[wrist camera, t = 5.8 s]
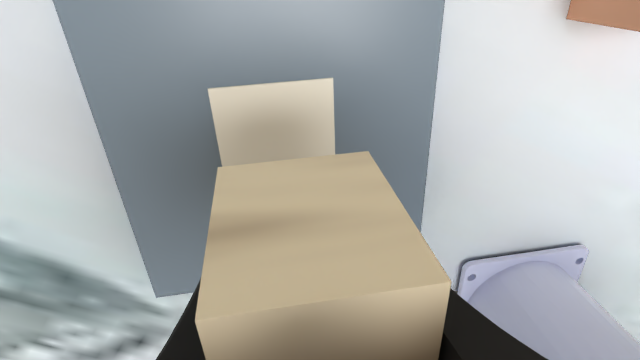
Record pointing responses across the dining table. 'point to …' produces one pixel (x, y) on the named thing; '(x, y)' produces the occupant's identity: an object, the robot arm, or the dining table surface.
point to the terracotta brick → (607, 13)
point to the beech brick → (317, 266)
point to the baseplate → (248, 101)
